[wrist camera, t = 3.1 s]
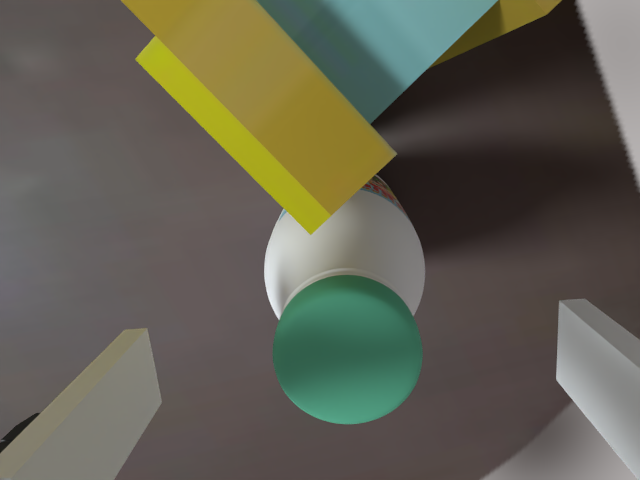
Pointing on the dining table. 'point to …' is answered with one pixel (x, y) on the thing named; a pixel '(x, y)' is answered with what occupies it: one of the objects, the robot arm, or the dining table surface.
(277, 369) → the milk bottle
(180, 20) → the book
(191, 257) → the dining table surface
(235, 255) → the dining table surface
